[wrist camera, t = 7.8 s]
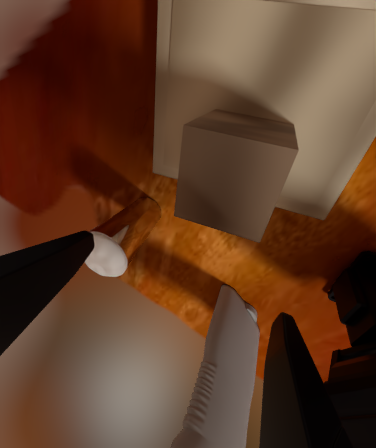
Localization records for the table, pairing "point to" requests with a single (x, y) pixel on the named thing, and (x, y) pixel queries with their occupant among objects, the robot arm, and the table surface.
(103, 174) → the table surface
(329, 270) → the table surface
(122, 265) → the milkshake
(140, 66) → the table surface
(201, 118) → the walnut block
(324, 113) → the base
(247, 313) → the grey ridged slab
